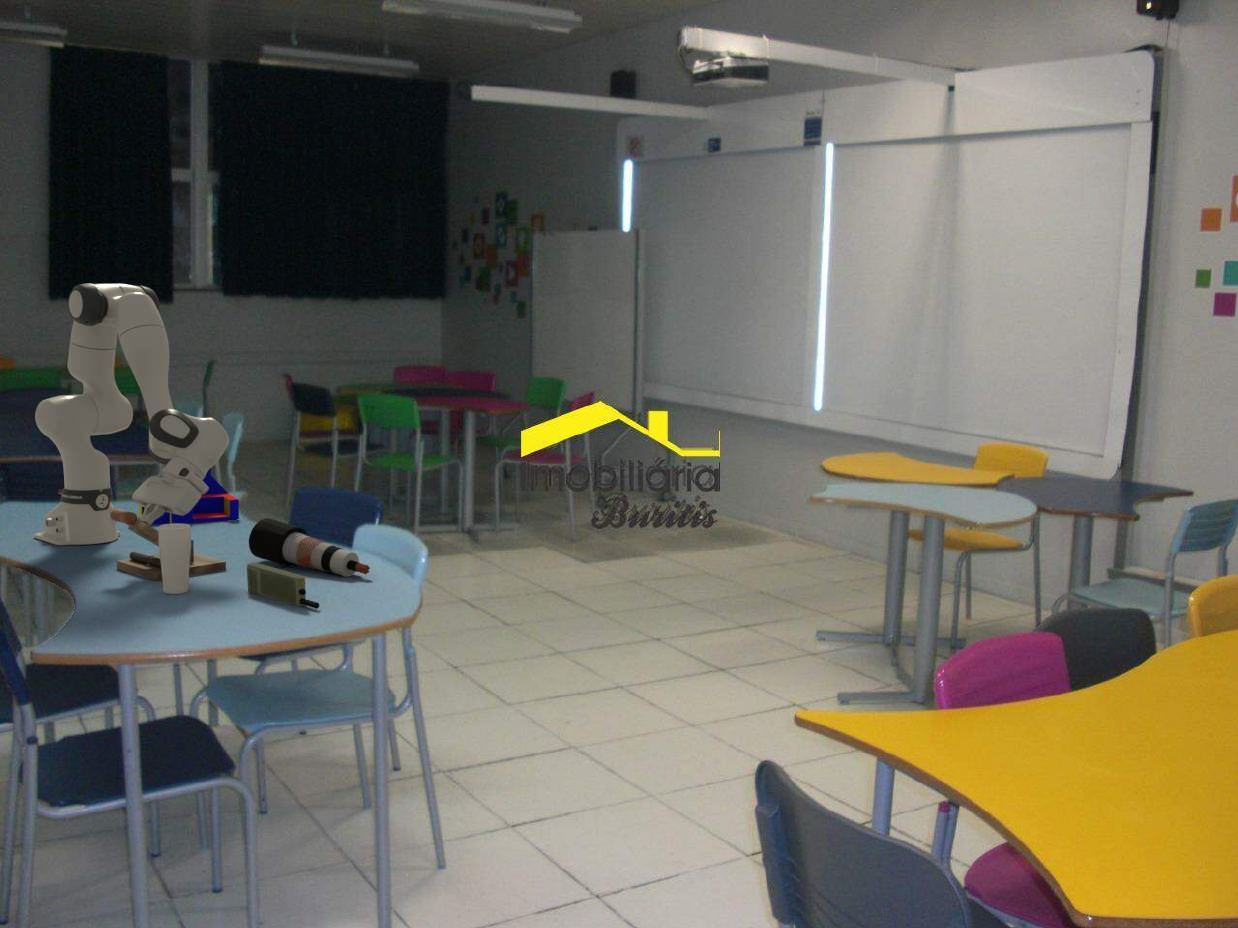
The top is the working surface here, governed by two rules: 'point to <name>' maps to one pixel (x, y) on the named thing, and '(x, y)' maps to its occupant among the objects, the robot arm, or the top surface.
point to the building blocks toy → (205, 507)
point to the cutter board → (157, 572)
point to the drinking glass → (175, 557)
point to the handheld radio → (278, 585)
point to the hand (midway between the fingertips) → (144, 522)
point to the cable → (300, 549)
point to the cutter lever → (136, 525)
